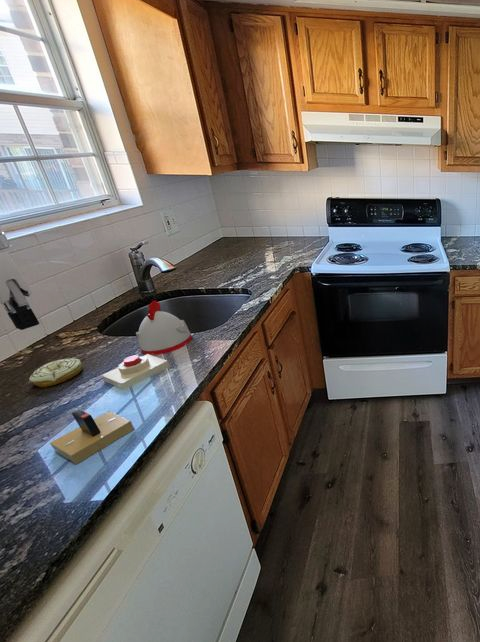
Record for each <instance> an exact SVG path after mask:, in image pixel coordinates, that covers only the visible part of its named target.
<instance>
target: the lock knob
mask: <svg viewBox="0 0 480 642" xmlns="http://www.w3.org/2000/svg"><path fill="white" fill-rule="evenodd" d="M71 416H72V418H74V420H75V422H76V423H77V425H78V427H80V428H81V430H82V431H84V432H86V433H88V434H90V435H91V436H93V437H94V436H96V435H97V434H99V433H101V432H100V430H99V428H98V426H97V425H96V423H95V421H94V420H93V419H94V418H93V416H92V415H91V414H90V413H88V412H87V411H84V410H82V409H80V408H79V409H77V410H74V411H73V412H71Z"/></svg>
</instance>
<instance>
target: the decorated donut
mask: <svg viewBox="0 0 480 642" xmlns="http://www.w3.org/2000/svg"><path fill="white" fill-rule="evenodd" d="M82 369H83V363H82V361H81V359H80V358H79V359H78V358H73V357H72V358H63V359H58V360H57V359H56V360H54V361H51V362H48V363H46V364H43V365H42V366H40V367H38V368H37V369H36V370H34V371H33V373H32V374H31V375H30V377H29V379H28V381H29V382H30V383H32V384H33V385H34V386H36V387H39V388H48V387H52V386H56V385H58V384H61V383H64V382H66V381H68V380H71V379H73V378H74V377H75V376H77V375H78V374H80V373H81V371H82Z"/></svg>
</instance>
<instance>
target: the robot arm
mask: <svg viewBox="0 0 480 642" xmlns="http://www.w3.org/2000/svg"><path fill="white" fill-rule="evenodd" d="M11 250H13V246H12V245H11V243H10V242H9V240H8V237H7V236H6V234H5V232H4V231H3V229H2V227H1V226H0V304H1V306H2V307H3V308H4V310H5V312H6V314H7V315H8V318H9V319H10V320H11V322H12V323H13V325H14V327H15V328H16V329H18V330H20V331H24V330H27V329H29V328H33V327H35V326H38V325H40V321H39V319H38V318H37V316H36V313H35V312H34V311H33V309H32V308H31V306H30V303H29V301H28V299H27V298H26V297H31V295H32V290H31V289H30V286H29V284H28V282H27V280H26V278H25V277H24V275H23V274H22V271H20V269H19V267H18V265H17V264H16V262H15V260H14V259H13V258H12V256H11V255H10V253H9V252H8V251H11Z"/></svg>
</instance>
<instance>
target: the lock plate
mask: <svg viewBox="0 0 480 642" xmlns="http://www.w3.org/2000/svg"><path fill="white" fill-rule="evenodd" d="M93 420H94V421H95V423H96V425H97V426H98V428H99V430H100V432H101V433H99V434H97V435H96V436H94V437H93V436H91V435H90V434H88V433H86V432H84V431H82V430H81V428H80V426H78V427H76V428H74V429H73V430H71V431H69V432H67V433H65V434H64V435H62V436H60V437H58V438H56V439H54V440H52V441H50V442H49V444H50V446H51V447H52V449H53V450H54V452H55V453H57V454H59V455H61V456H62V457H64V458H65V459H67V460H69V461H70V462H72V463H74V464H75V465H77V464H79V463H81V462H83V461H84V460H86V459H87V458H89V457H91V456H93V455H94V454H96V453H98V452H99V451H101V450H102V449H105V448H106V447H107V446H109V445H111V444H113V443H114V442H115V441H117V440H119V439H121V438H122V437H125V436H126V435H128V434H129V433H131V432H132V431H134V430H135V427H134V425H133V423H132V421H131V420H129V419H127V418H125V417H123V416H121V415H119V414H116V413H115V412H113V411H110V410H108V411H106V412H104V413H103V414H101V415H99V416H96V417H95V418H93Z"/></svg>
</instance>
